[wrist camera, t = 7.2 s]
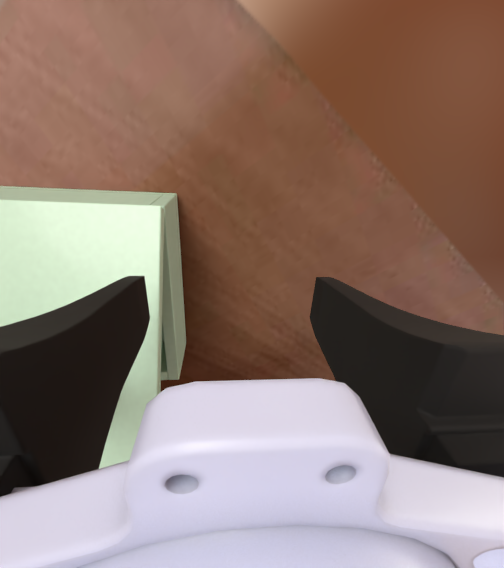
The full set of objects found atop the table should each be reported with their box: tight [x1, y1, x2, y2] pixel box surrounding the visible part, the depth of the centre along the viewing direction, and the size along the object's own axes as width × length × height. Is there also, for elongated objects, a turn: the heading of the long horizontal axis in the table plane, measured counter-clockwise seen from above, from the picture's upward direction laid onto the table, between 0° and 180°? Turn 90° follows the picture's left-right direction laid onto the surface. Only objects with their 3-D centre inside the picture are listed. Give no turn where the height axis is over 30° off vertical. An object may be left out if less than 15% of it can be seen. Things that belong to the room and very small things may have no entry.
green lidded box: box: [0, 186, 186, 380], centre depth 19 cm, size 13×12×4 cm
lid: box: [0, 199, 164, 469], centre depth 12 cm, size 13×12×5 cm
